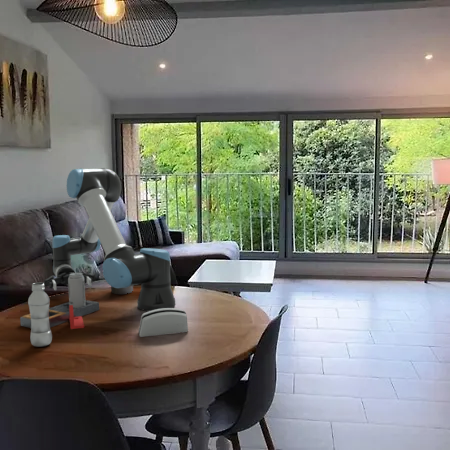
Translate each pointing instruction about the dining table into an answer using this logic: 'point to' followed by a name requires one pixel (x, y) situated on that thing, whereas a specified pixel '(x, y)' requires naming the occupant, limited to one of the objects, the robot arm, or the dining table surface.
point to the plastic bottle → (39, 316)
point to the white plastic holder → (163, 322)
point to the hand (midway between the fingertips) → (73, 284)
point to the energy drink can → (76, 290)
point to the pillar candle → (121, 290)
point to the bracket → (75, 319)
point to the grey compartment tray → (63, 313)
